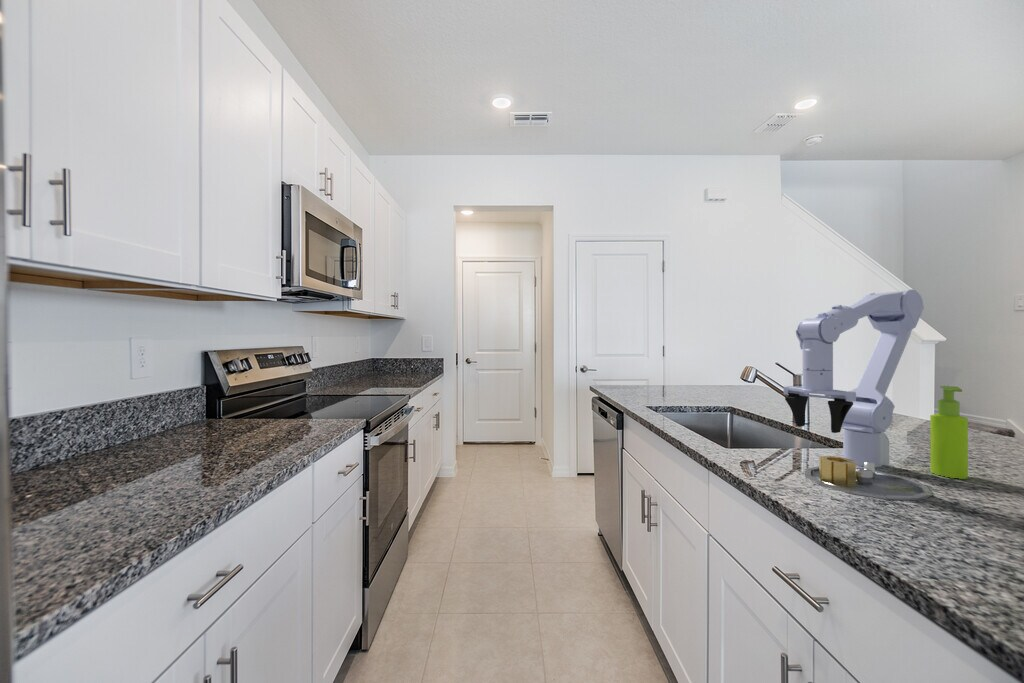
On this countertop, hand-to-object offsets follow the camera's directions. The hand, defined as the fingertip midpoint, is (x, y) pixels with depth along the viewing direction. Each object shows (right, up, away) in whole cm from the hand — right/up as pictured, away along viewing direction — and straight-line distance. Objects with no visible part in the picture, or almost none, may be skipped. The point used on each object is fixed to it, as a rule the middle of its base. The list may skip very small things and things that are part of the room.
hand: (817, 429), depth 99 cm
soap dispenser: (+28, -10, -3) cm, 30 cm away
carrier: (+2, -10, -10) cm, 14 cm away
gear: (-3, -9, -9) cm, 13 cm away
